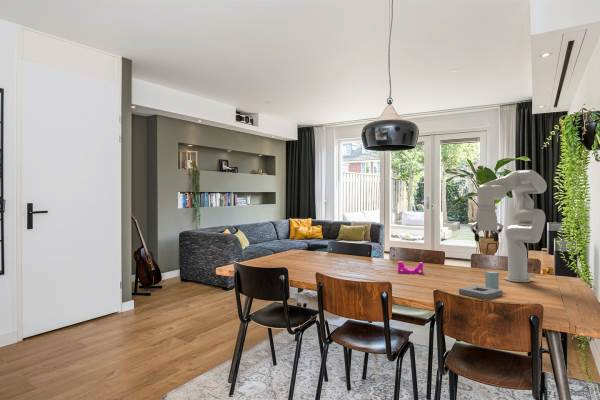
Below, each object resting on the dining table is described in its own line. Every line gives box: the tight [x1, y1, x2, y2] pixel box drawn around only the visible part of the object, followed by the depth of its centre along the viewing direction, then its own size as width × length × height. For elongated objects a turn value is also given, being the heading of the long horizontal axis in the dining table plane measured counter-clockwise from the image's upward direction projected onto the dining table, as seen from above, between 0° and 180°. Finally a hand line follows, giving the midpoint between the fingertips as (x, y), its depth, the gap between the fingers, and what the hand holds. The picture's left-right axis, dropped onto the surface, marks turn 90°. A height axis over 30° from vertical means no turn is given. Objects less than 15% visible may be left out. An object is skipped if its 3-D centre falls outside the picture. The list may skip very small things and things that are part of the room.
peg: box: [484, 270, 500, 290], centre depth 194 cm, size 4×4×9 cm
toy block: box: [397, 260, 424, 275], centre depth 236 cm, size 15×6×8 cm, turn 72°
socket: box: [458, 284, 503, 300], centre depth 183 cm, size 14×14×2 cm
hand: (486, 241), depth 195 cm, fingers open, 9 cm apart
